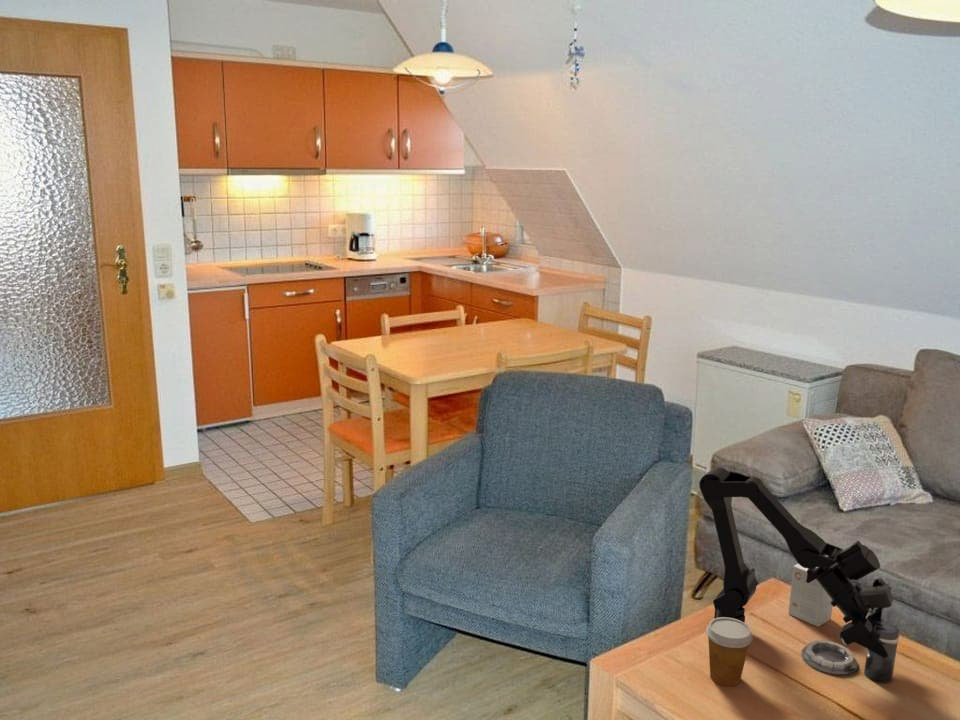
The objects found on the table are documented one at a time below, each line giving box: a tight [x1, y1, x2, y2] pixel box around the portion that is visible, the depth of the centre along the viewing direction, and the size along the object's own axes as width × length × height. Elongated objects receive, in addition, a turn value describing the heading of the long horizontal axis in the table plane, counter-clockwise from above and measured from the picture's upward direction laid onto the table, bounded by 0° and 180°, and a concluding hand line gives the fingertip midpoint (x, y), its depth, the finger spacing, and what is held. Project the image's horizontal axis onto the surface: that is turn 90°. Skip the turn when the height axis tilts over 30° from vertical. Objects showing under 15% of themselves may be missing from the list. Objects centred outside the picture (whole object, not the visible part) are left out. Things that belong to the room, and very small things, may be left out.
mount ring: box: [800, 639, 858, 676], centre depth 189 cm, size 12×12×2 cm
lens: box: [863, 621, 900, 684], centre depth 182 cm, size 6×6×12 cm
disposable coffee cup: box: [705, 617, 754, 687], centre depth 180 cm, size 10×10×12 cm
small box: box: [788, 563, 833, 628], centre depth 206 cm, size 8×6×13 cm
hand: (888, 650), depth 181 cm, fingers closed on lens, 6 cm apart
